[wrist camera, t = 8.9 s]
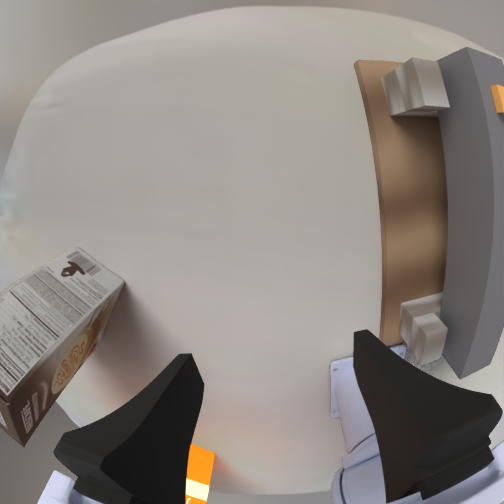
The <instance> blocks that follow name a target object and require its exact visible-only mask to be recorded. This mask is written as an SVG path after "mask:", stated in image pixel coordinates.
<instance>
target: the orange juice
mask: <svg viewBox="0 0 504 504" xmlns="http://www.w3.org/2000/svg"><path fill="white" fill-rule="evenodd" d="M214 455H215V453H212V452H210V451H207V450H205V449H202V448H200V447H197V446H195V445H193V444H191V446H190V452H189V460H188V469H187V479H186V504H206V501H207V496H208V491H209V483H210V478H211V472H212V466H213V461H214Z"/></svg>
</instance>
